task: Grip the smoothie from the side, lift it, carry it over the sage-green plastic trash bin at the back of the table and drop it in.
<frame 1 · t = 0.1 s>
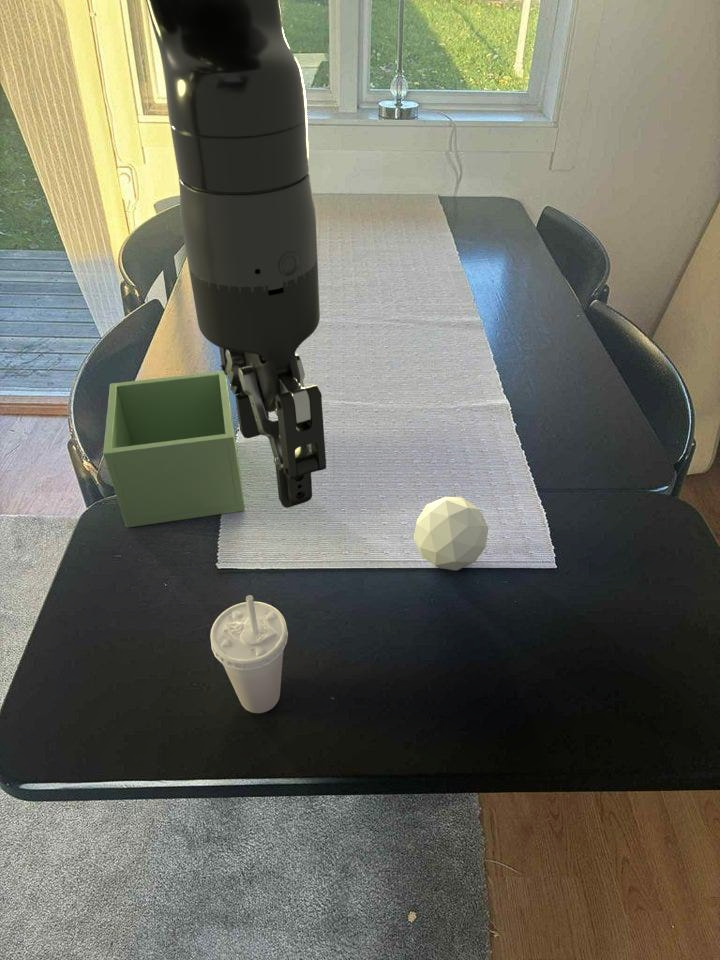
hand: (274, 465, 51), 24 cm above the table, tool pointing down, fingers open, 8 cm apart
geometric ball: (447, 558, 77), on the table
trash bin: (184, 481, 87), on the table
smoothie: (259, 696, 64), on the table
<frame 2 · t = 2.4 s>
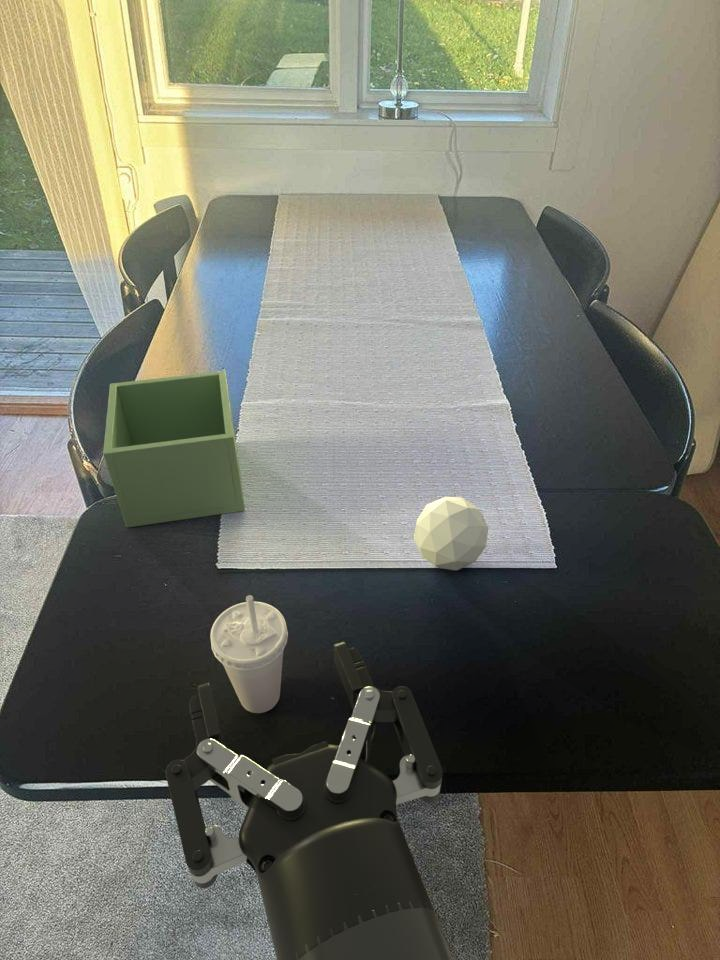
hand: (273, 670, 43), 20 cm above the table, tool horizontal, fingers open, 8 cm apart
nothing on the table moved.
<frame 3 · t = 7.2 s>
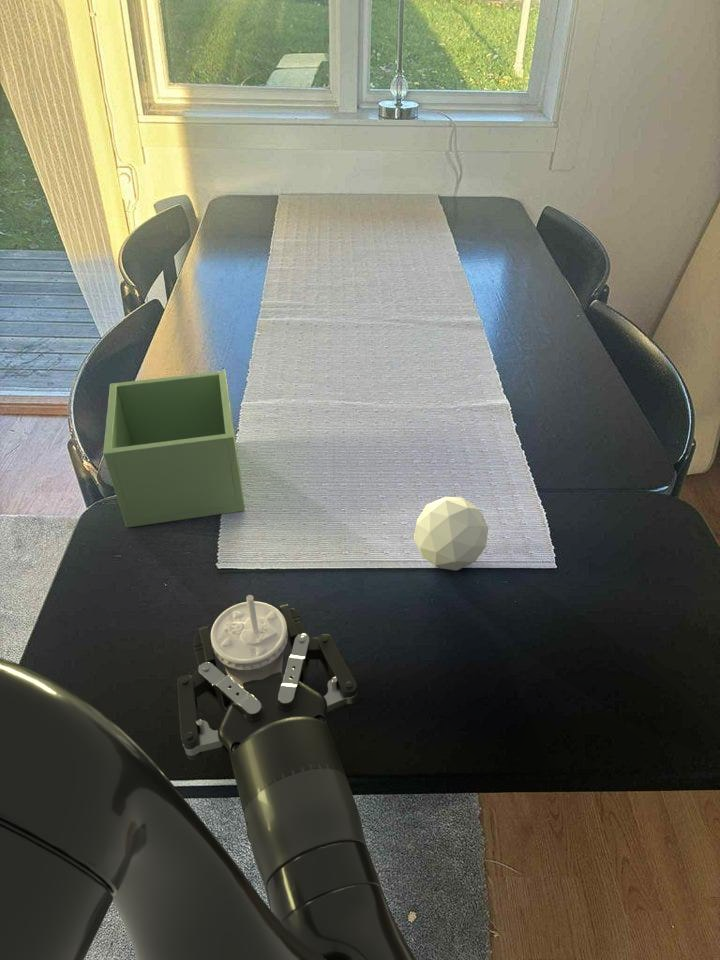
hand: (244, 622, 61), 8 cm above the table, tool horizontal, fingers closed on smoothie, 6 cm apart
smoothie: (259, 696, 64), on the table, touching gripper
everything else where it was.
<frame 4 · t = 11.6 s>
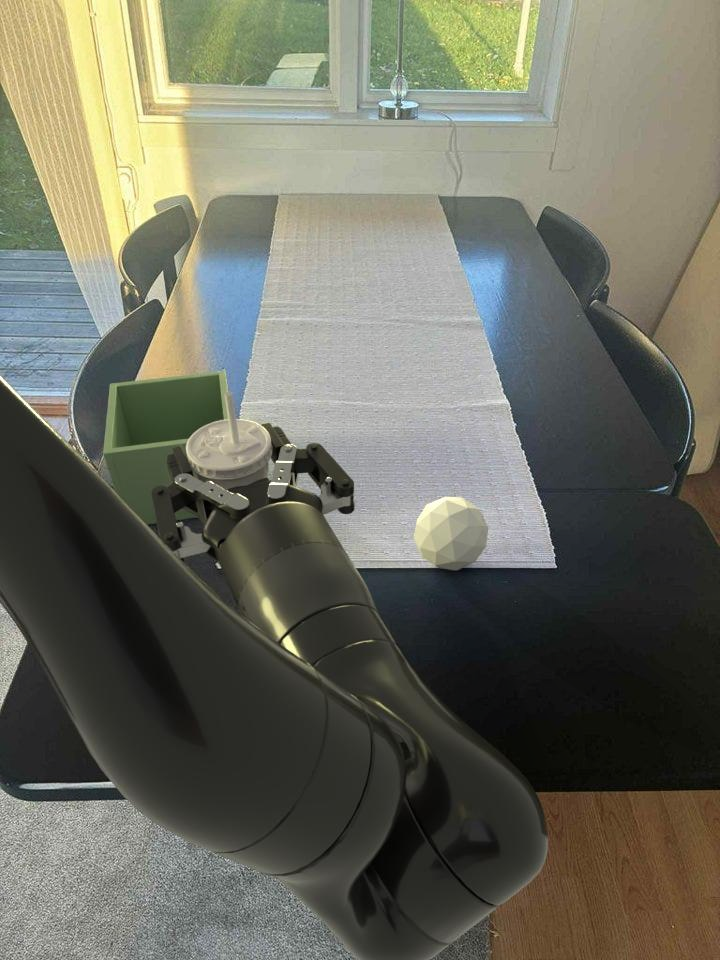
hand: (222, 443, 55), 23 cm above the table, tool horizontal, fingers closed on smoothie, 6 cm apart
smoothie: (243, 537, 58), point 15 cm above the table, touching gripper
everything else where it was.
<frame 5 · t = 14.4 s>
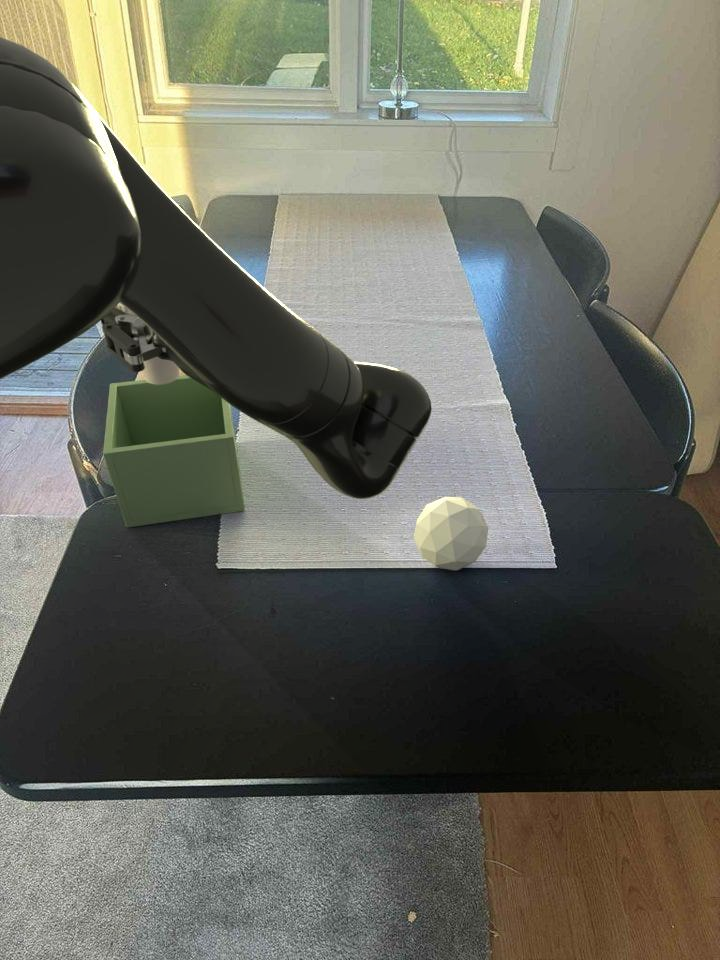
hand: (134, 300, 72), 24 cm above the table, tool horizontal, fingers closed on smoothie, 6 cm apart
smoothie: (162, 376, 76), point 15 cm above the table, touching gripper
everything else where it was.
when the fingers open (20 cm above the table, at t = 16.3 s): smoothie drops 10 cm, resting on trash bin.
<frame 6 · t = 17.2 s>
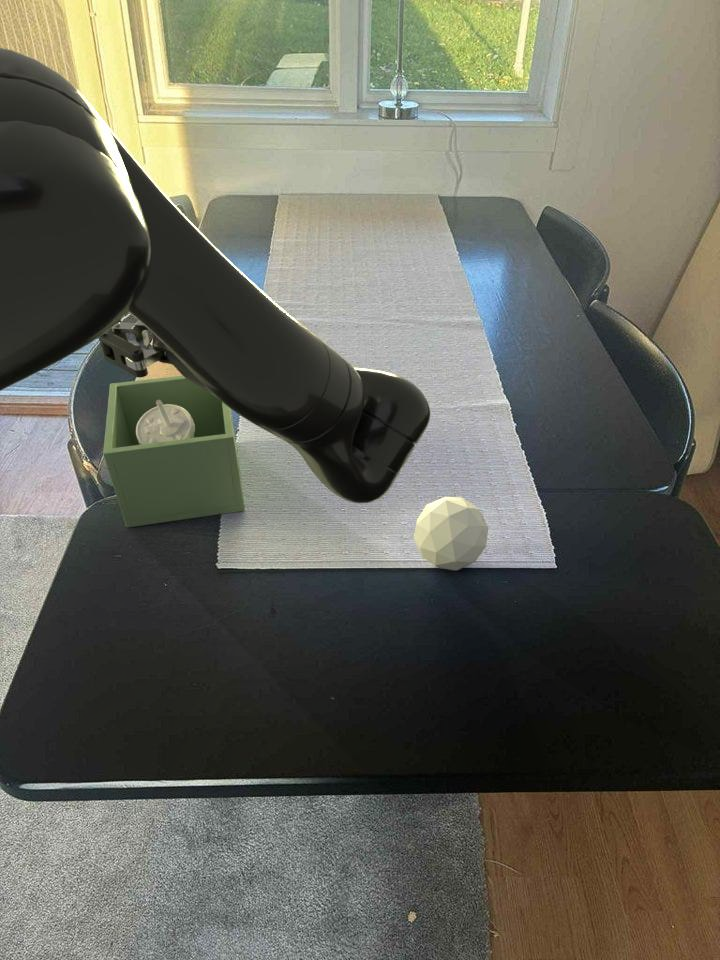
hand: (136, 304, 72), 23 cm above the table, tool horizontal, fingers open, 8 cm apart
smoothie: (185, 473, 86), point 1 cm above the table, touching trash bin
everything else where it was.
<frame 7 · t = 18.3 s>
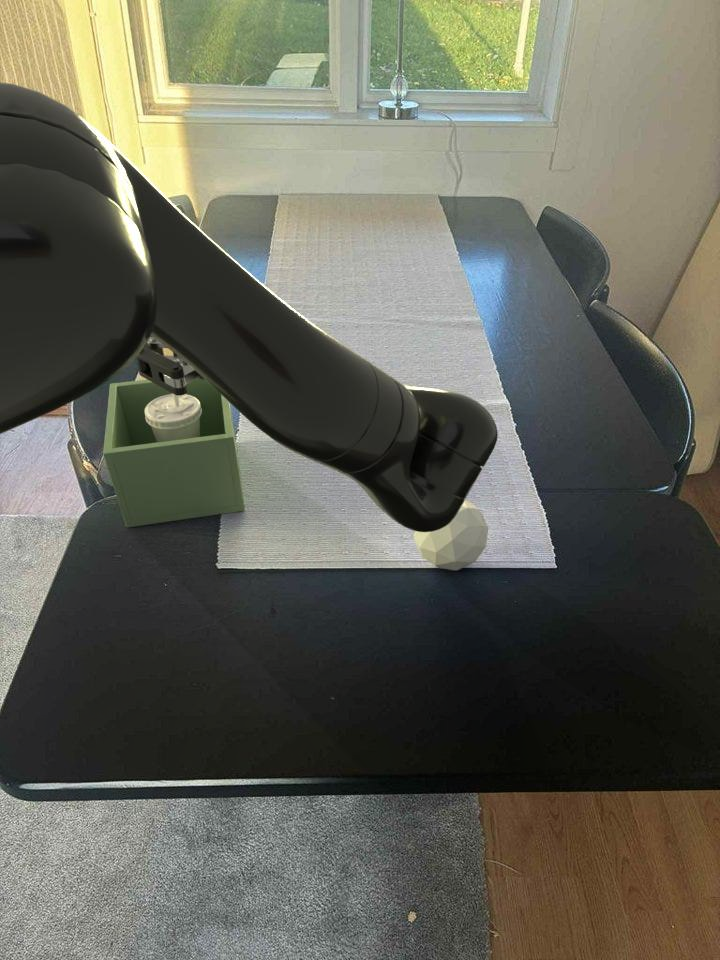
hand: (170, 316, 68), 24 cm above the table, tool horizontal, fingers open, 8 cm apart
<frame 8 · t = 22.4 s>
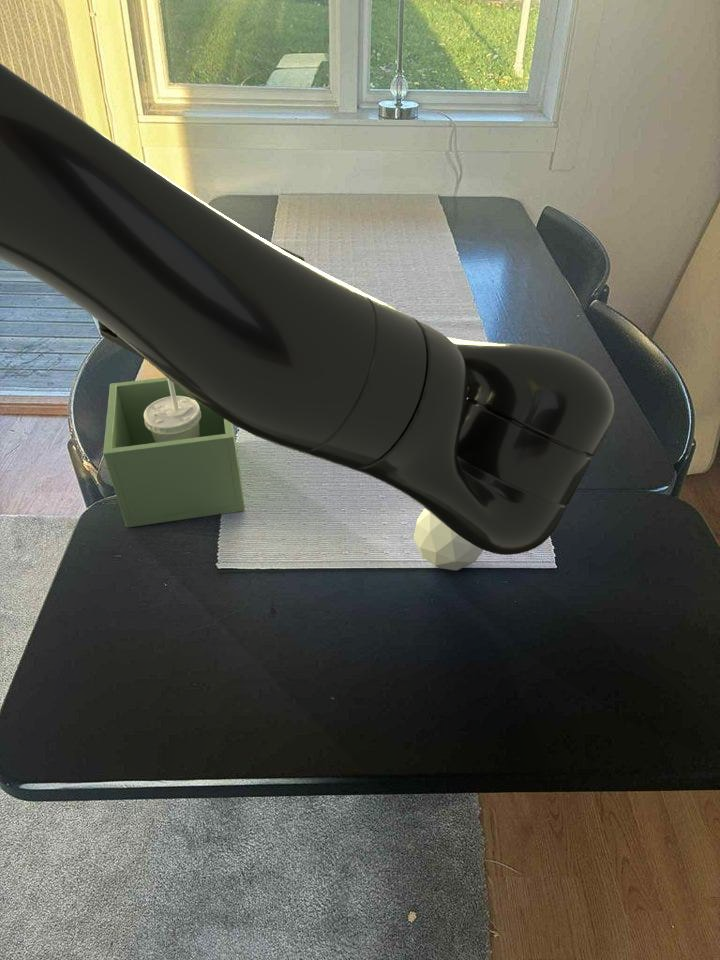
hand: (145, 263, 52), 35 cm above the table, tool horizontal, fingers open, 8 cm apart
at the end: smoothie inside the target area in the trash bin (0.3 cm from its centre), point 0.8 cm above the trash bin's base; the gripper is holding nothing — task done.
